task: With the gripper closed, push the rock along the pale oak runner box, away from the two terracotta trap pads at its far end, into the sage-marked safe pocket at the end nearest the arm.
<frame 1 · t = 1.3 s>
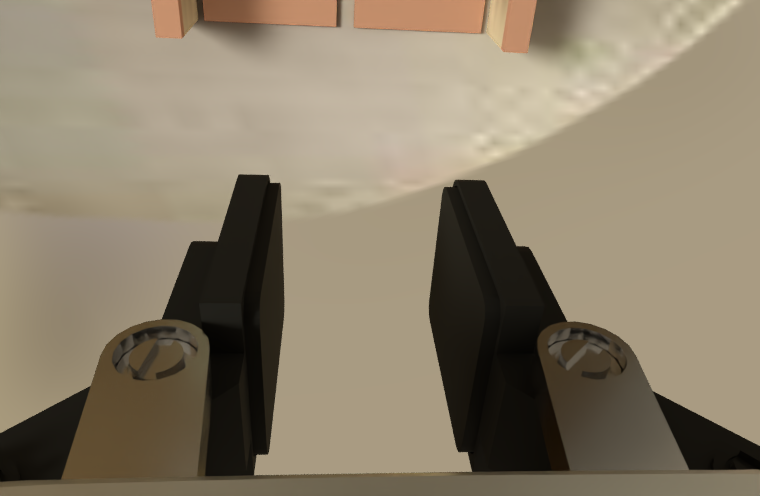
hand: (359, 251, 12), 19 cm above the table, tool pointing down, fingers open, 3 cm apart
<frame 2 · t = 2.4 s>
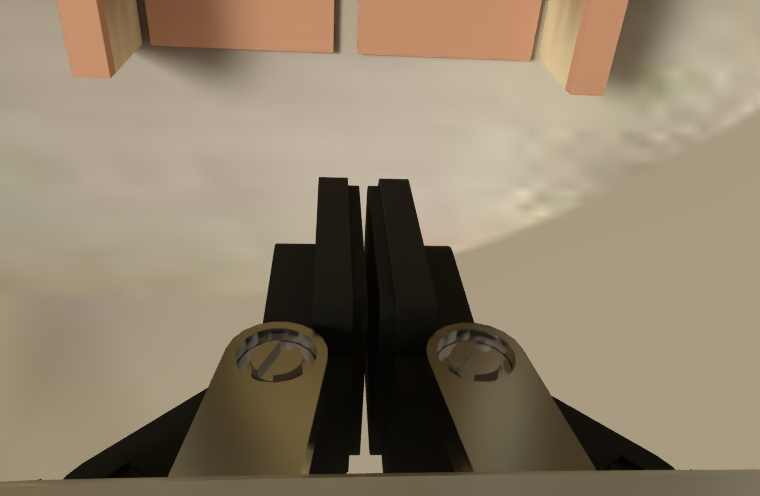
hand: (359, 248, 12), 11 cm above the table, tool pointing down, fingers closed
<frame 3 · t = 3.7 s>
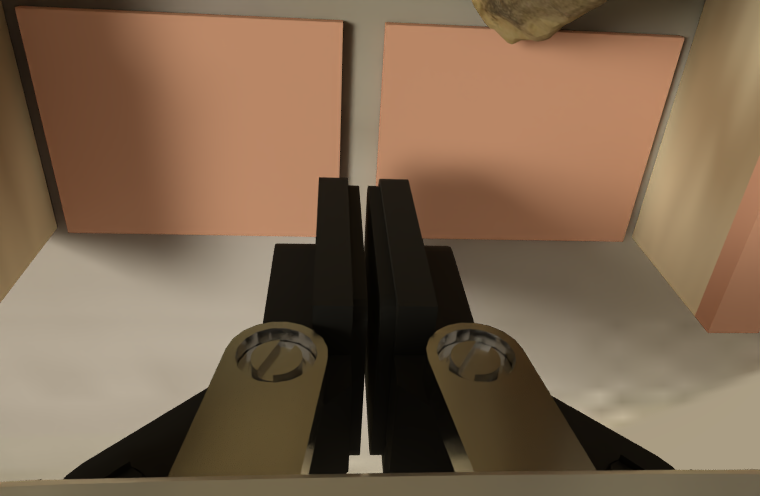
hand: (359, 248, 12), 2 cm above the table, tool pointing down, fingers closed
trap pads: (362, 172, 11), on the table
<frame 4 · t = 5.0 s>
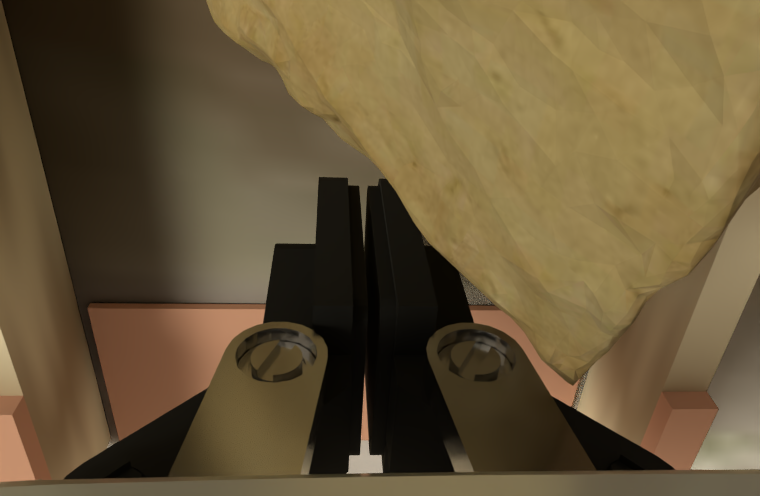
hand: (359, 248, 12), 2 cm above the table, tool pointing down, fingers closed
trap pads: (351, 425, 15), on the table
rock: (403, 44, 12), on the table
runner box: (362, 35, 12), on the table
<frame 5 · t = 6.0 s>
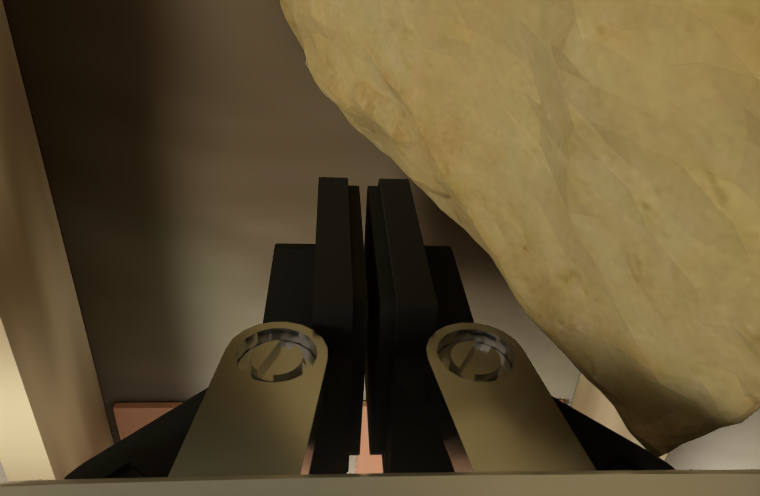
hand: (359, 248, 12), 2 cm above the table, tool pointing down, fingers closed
rock: (455, 96, 13), on the table, touching gripper
runner box: (353, 195, 14), on the table
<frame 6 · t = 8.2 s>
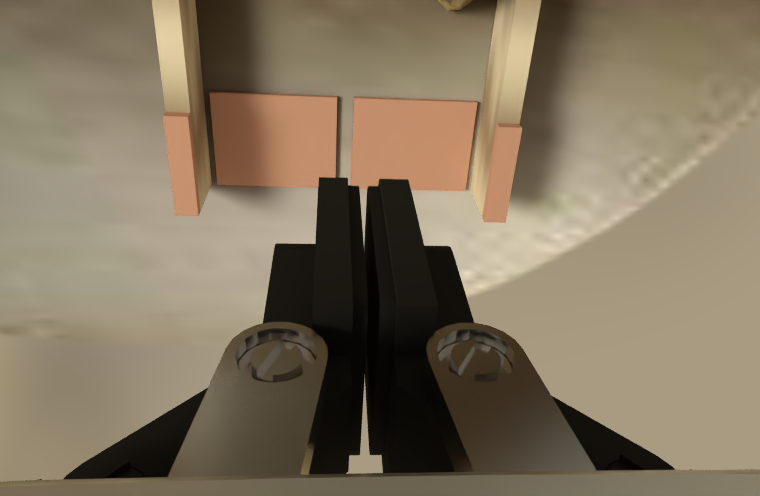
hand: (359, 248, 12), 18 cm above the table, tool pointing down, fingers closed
trap pads: (344, 157, 29), on the table
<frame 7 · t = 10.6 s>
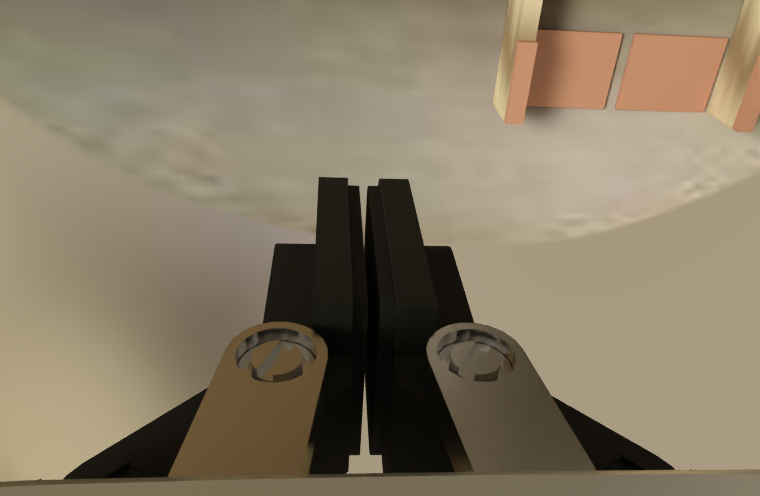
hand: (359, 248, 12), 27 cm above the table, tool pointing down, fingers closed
trap pads: (629, 80, 37), on the table
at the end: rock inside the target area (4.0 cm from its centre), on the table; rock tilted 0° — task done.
